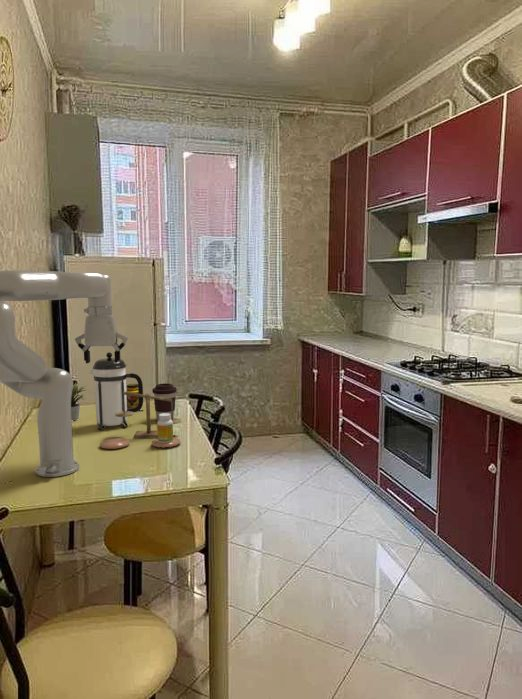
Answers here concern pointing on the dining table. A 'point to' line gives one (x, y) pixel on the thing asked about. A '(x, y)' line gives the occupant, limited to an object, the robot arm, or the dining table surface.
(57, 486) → the dining table surface
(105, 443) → the pink disc
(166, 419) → the supplement bottle
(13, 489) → the dining table surface
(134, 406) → the condiment
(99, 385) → the coffee press
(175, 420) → the balance
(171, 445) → the tan flat disc
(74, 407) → the house plant
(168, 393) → the coffee cup
